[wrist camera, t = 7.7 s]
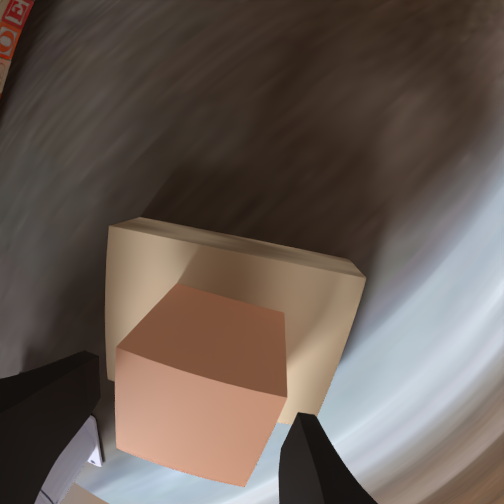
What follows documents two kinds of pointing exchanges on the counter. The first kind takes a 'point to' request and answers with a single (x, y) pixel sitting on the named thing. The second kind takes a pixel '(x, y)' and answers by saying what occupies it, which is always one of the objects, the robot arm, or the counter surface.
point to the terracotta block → (201, 384)
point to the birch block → (237, 293)
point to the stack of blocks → (11, 31)
